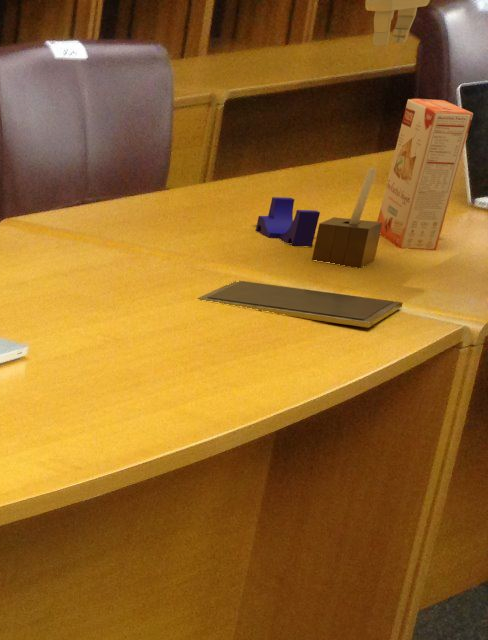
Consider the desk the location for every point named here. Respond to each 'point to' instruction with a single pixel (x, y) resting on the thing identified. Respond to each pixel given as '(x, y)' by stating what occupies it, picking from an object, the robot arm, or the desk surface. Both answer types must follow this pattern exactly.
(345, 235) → the pen stand
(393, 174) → the cracker box
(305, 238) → the cable clip
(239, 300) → the tablet
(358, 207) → the stylus
